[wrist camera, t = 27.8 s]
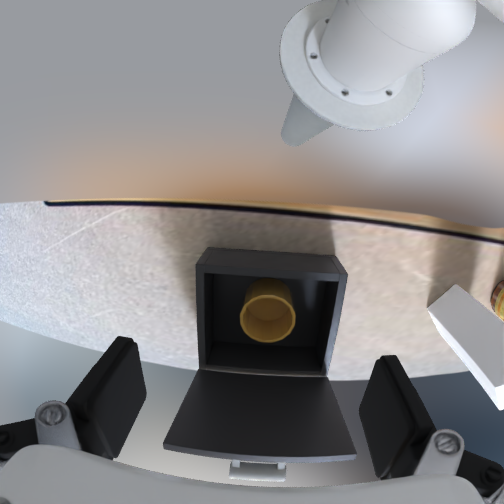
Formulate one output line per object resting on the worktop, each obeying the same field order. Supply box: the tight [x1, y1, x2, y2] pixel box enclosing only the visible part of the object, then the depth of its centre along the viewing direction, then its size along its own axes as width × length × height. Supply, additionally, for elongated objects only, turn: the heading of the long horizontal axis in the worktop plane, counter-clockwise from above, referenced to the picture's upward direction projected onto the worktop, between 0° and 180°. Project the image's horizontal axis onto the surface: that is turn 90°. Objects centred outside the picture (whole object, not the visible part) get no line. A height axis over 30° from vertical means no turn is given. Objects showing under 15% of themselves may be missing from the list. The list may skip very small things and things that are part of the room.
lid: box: [163, 369, 357, 481], centre depth 27 cm, size 15×16×5 cm
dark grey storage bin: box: [196, 247, 348, 377], centre depth 35 cm, size 14×16×6 cm
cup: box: [240, 278, 296, 343], centre depth 35 cm, size 6×6×5 cm
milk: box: [427, 284, 504, 410], centre depth 27 cm, size 6×6×22 cm
